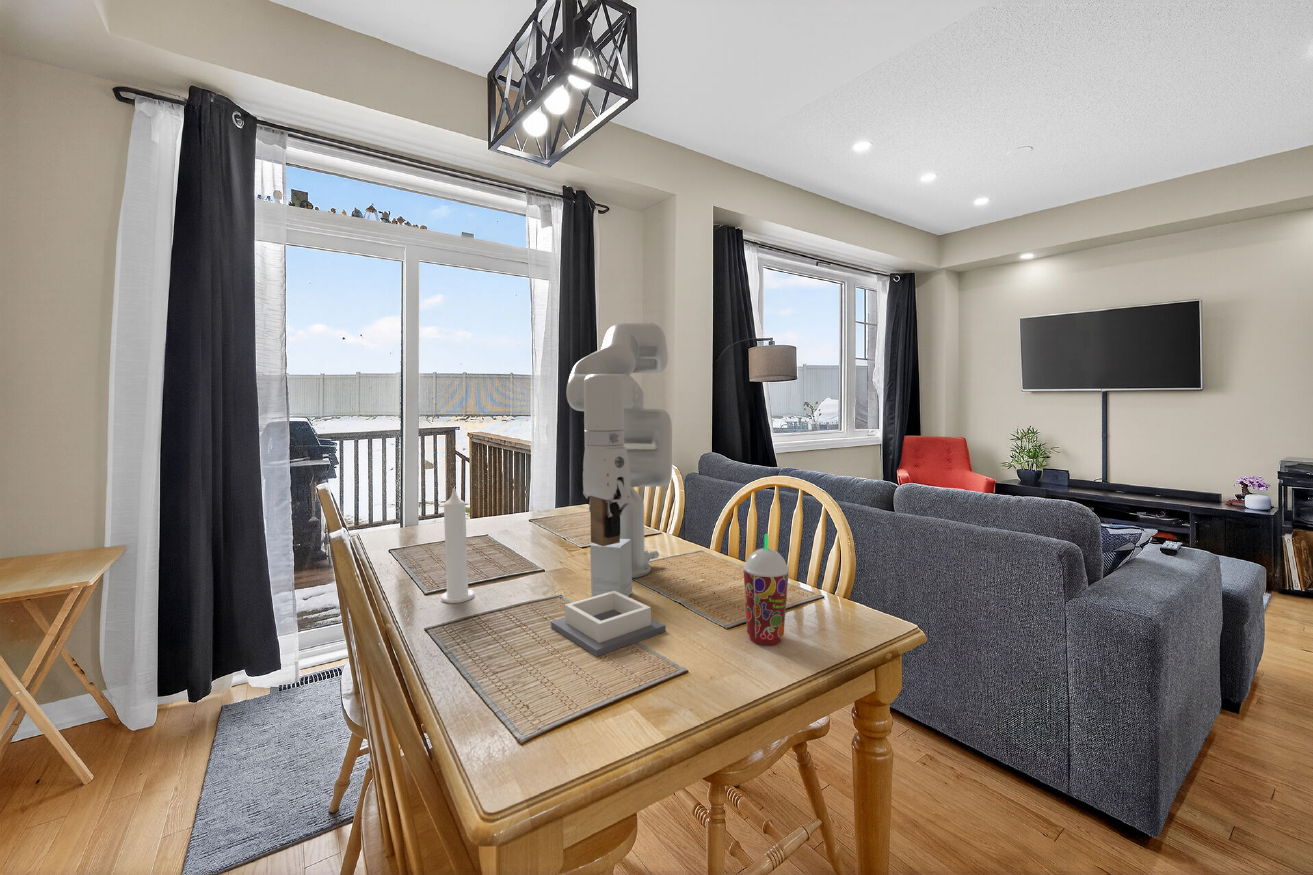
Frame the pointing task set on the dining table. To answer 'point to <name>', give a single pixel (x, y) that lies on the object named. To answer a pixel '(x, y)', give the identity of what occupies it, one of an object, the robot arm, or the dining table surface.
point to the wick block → (600, 522)
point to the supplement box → (611, 568)
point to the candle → (456, 551)
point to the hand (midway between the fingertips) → (605, 533)
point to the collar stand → (607, 622)
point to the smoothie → (765, 595)
